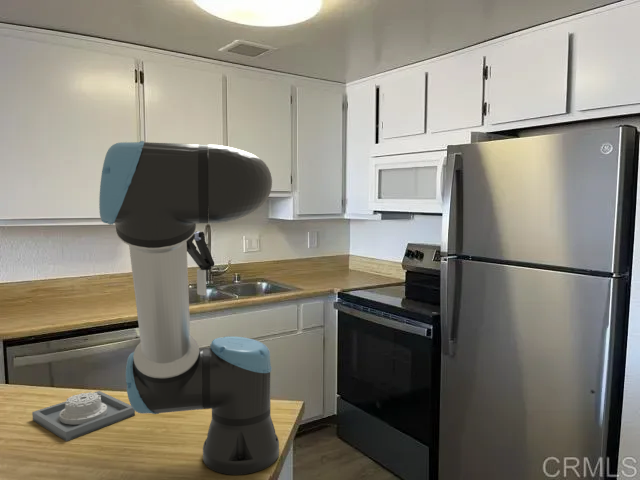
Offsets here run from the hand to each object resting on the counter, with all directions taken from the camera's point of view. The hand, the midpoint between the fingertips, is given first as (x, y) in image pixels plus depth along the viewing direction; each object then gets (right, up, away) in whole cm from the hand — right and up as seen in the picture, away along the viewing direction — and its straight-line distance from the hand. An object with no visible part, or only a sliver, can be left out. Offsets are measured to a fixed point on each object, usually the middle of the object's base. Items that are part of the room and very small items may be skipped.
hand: (179, 298), depth 120 cm
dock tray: (-20, -27, -6) cm, 35 cm away
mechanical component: (-20, -27, -7) cm, 34 cm away
